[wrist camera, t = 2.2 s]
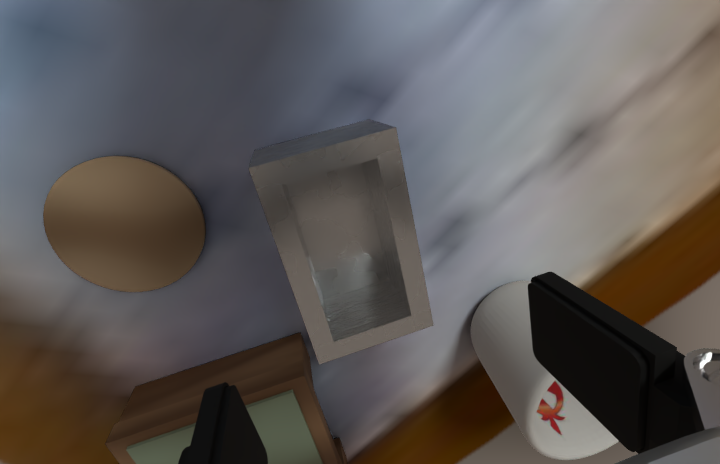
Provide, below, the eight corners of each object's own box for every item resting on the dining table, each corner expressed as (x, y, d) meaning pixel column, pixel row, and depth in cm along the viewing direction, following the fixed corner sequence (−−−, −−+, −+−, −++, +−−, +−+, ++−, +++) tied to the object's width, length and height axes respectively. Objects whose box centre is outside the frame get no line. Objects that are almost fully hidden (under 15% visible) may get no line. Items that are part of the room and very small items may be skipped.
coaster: (15, 179, 17) (10, 181, 16) (171, 138, 18) (169, 139, 17) (94, 305, 19) (91, 309, 19) (225, 265, 20) (225, 268, 20)
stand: (133, 384, 22) (103, 447, 18) (299, 329, 23) (304, 378, 19) (212, 507, 26) (201, 578, 22) (346, 457, 27) (358, 516, 24)
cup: (605, 275, 27) (731, 345, 19) (563, 366, 29) (660, 458, 22) (475, 257, 24) (565, 332, 16) (440, 360, 26) (505, 465, 19)
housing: (254, 149, 19) (248, 168, 14) (367, 118, 19) (395, 127, 15) (310, 309, 23) (319, 364, 18) (402, 279, 23) (433, 325, 19)
